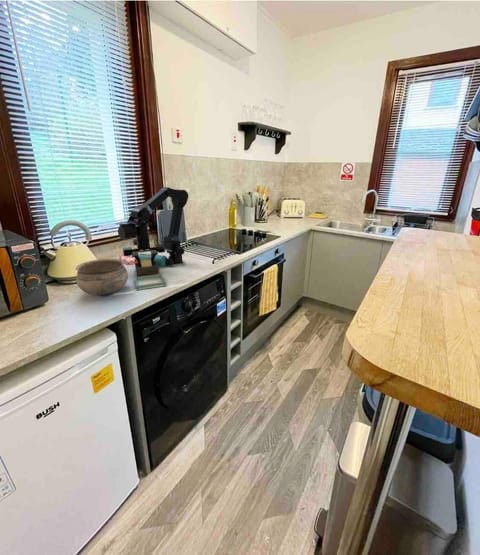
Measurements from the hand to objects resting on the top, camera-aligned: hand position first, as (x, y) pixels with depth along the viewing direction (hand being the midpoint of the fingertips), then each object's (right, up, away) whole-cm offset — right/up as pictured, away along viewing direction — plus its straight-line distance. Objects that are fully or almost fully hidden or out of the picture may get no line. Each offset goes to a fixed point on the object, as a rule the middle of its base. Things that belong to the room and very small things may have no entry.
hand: (146, 266), depth 133 cm
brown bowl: (-10, -12, -20) cm, 25 cm away
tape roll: (0, -2, +1) cm, 2 cm away
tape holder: (0, -3, +1) cm, 4 cm away
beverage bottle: (-9, +5, +12) cm, 16 cm away
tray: (+5, -8, -11) cm, 14 cm away
